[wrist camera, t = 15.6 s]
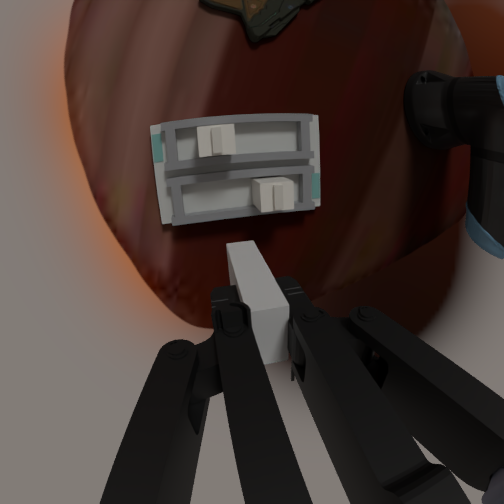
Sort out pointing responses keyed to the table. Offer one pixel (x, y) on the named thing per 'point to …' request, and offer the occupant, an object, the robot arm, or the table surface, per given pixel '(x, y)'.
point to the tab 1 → (216, 140)
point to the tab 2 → (272, 193)
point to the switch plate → (234, 166)
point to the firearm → (260, 14)
